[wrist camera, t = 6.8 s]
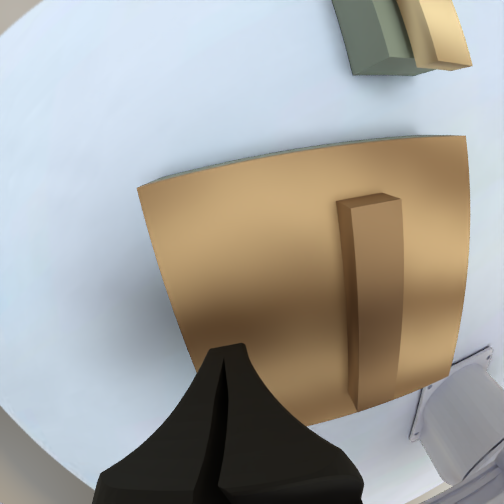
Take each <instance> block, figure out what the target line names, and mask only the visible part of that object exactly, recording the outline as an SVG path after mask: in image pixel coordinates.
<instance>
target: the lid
mask: <svg viewBox="0 0 504 504" xmlns="http://www.w3.org/2000/svg"><path fill="white" fill-rule="evenodd" d="M137 191H138V195H139V199H140V203H141V206H142V210H143V214H144V218H145V221H146V225H147V228H148V232H149V235H150V239H151V242H152V246H153V249H154V252H155V256H156V259H157V262H158V266H159V269H160V272H161V275H162V278H163V281H164V284H165V287H166V290H167V293H168V296H169V299H170V302H171V305H172V308H173V311H174V314H175V317H176V319H177V322H178V325H179V328H180V330H181V333H182V336H183V339H184V341H185V344H186V346H187V349H188V352H189V354H190V357H191V359H192V362H193V364H194V367H195V369H196V372H198V370H199V368H200V367H201V365H202V363H203V360H204V358H205V356H206V354H207V352H208V350H209V349H210V348H216V347H221V346H227V345H232V344H237V343H244V344H245V345H246V348H247V352H248V356H249V359H250V361H251V363H252V365H253V367H254V369H255V370H256V372H257V374H258V375H259V377H260V378H261V380H262V381H263V383H264V384H265V385H266V387H267V388H268V389H269V391H270V392H271V393H272V394H273V396H274V397H275V398H276V399H277V400H278V401H279V402H280V403H281V404H282V405H283V407H285V408H286V409H287V410H288V411H289V412H290V413H291V414H292V415H293V416H294V417H295V418H296V419H298V420H299V421H300V422H301V423H302V424H304V425H305V426H310V425H314V424H318V423H321V422H325V421H329V420H333V419H336V418H340V417H343V416H346V415H350V414H353V413H356V412H359V411H363V410H366V409H369V408H372V407H374V406H377V405H380V404H383V403H386V402H388V401H391V400H394V399H396V398H399V397H402V396H404V395H407V394H409V393H412V392H414V391H416V390H419V389H421V388H424V387H426V386H428V385H430V384H433V383H435V382H437V381H439V380H441V379H444V378H446V377H448V376H449V372H450V369H451V365H452V360H453V356H454V352H455V347H456V343H457V338H458V333H459V327H460V322H461V316H462V310H463V303H464V296H465V288H466V279H467V269H468V256H469V239H470V183H469V166H468V154H467V144H466V136H454V135H451V136H430V137H414V138H401V139H389V140H379V141H369V142H360V143H351V144H343V145H336V146H328V147H321V148H314V149H308V150H302V151H295V152H289V153H283V154H278V155H272V156H267V157H261V158H256V159H251V160H246V161H241V162H236V163H231V164H227V165H222V166H217V167H213V168H208V169H204V170H200V171H196V172H191V173H187V174H183V175H179V176H175V177H171V178H167V179H164V180H160V181H156V182H152V183H149V184H145V185H142V186H140V187H138V188H137Z"/></svg>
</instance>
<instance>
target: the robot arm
mask: <svg viewBox="0 0 504 504" xmlns="http://www.w3.org/2000/svg"><path fill="white" fill-rule="evenodd" d="M492 353H493V349H492V348H491V347H488V348H486V349H484V350H483V351H481V352H479V353H477V354H475V355H473V356H471V357H469V358H467V359H465V360H463V361H461V362H459V363H457V364H455V365H453V366H451V369H450V372H449V376H448V377H446V378H444V379H441V380H439V381H437V382H435V383H433V384H430V385H428V386H426V387H424V388H423V390H422V394H421V398H420V402H419V406H418V410H417V414H416V418H415V421H414V425H413V428H412V432H411V435H410V438H409V440H410V441H411V442H414V441H416V440H418V439H419V440H420V442H421V443H422V445H423V447H424V449H425V450H426V452H427V454H428V456H429V457H430V459H431V461H432V463H433V465H434V466H435V468H436V470H437V472H438V474H439V475H440V477H441V478H442V480H443V481H445V482H446V483H447V484H449V485H452V486H453V487H451V488H449V489H447V490H446V491H444V492H442V493H440V494H438V495H436V496H434V497H432V498H430V499H428V500H426V501H424V502H422V503H420V504H504V390H503V389H502V388H501V386H500V385H499V384H498V383H497V382H496V381H495V380H494V379H493V378H492V377H491V376H490V375H489V374H488V373H487V368H488V365H489V362H490V359H491V356H492ZM363 488H364V482H363V478H362V476H361V475H360V473H359V471H358V469H357V468H356V467H355V465H354V464H353V463H352V461H351V460H350V459H349V458H348V456H347V455H346V454H345V453H344V452H343V451H342V449H340V448H338V447H336V446H335V445H333V444H331V443H329V442H328V441H326V440H325V439H323V438H321V437H320V436H318V435H317V434H316V433H314V432H313V431H311V430H310V429H309V428H307V427H306V426H305V425H304V424H302V423H301V422H300V421H299V420H298V419H296V418H295V417H294V416H293V415H292V414H291V413H290V412H289V411H288V410H287V409H286V408H285V407H283V405H282V404H281V403H280V402H279V401H278V400H277V399H276V398H275V397H274V396H273V394H272V393H271V392H270V391H269V389H268V388H267V387H266V385H265V384H264V383H263V381H262V380H261V378H260V377H259V375H258V374H257V372H256V370H255V369H254V367H253V365H252V363H251V361H250V359H249V356H248V352H247V348H246V345H245V344H244V343H237V344H232V345H227V346H221V347H216V348H210V349H209V350H208V352H207V354H206V356H205V358H204V360H203V363H202V365H201V367H200V368H199V370H198V372H197V374H196V376H195V378H194V379H193V381H192V383H191V385H190V387H189V388H188V390H187V391H186V393H185V394H184V396H183V397H182V399H181V401H180V402H179V404H178V405H177V406H176V408H175V409H174V410H173V412H172V413H171V414H170V416H169V417H168V418H167V419H166V420H165V422H164V423H163V424H162V425H161V426H160V427H159V428H158V429H157V430H156V431H155V432H154V433H153V434H152V435H151V436H150V437H149V438H148V439H147V440H146V441H145V442H144V443H143V444H141V445H140V446H139V447H138V448H137V449H135V450H134V451H133V452H132V453H130V454H129V455H128V456H126V457H125V458H124V459H122V460H121V461H119V462H118V463H116V464H115V465H113V466H111V467H110V468H108V469H107V470H105V471H103V472H102V473H100V476H99V479H98V482H97V485H96V489H95V493H94V498H93V502H92V504H363V503H362V500H361V496H362V492H363ZM0 504H3V503H1V502H0Z"/></svg>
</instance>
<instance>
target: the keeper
mask: <svg viewBox="0 0 504 504" xmlns="http://www.w3.org/2000/svg"><path fill="white" fill-rule="evenodd" d="M332 2H333V5H334V9H335V12H336V15H337V18H338V21H339V25H340V28H341V31H342V35H343V38H344V42H345V46H346V49H347V53H348V57H349V61H350V65H351V69H352V73H353V75H405V76H416V75H419V74H422V73H426V72H429V71H432V70H436V69H428V68H417V66H416V62H415V58H414V54H413V51H412V47H411V43H410V40H409V37H408V33H407V30H406V27H405V24H404V21H403V18H402V15H401V12H400V9H399V6H398V4H397V1H396V0H332Z"/></svg>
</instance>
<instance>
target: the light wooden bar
mask: <svg viewBox="0 0 504 504" xmlns="http://www.w3.org/2000/svg"><path fill="white" fill-rule="evenodd" d="M396 1H397V4H398V6H399V9H400V12H401V15H402V18H403V21H404V24H405V27H406V30H407V33H408V37H409V40H410V43H411V47H412V51H413V54H414V58H415V62H416V66H417V68H428V69H438V70H447V71H453V70H457V69H461V68H466V67H470V66H472V62H471V58H470V54H469V51H468V47H467V44H466V40H465V37H464V34H463V31H462V28H461V25H460V22H459V19H458V16H457V13H456V11H455V8H454V5H453V3H452V0H396Z"/></svg>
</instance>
